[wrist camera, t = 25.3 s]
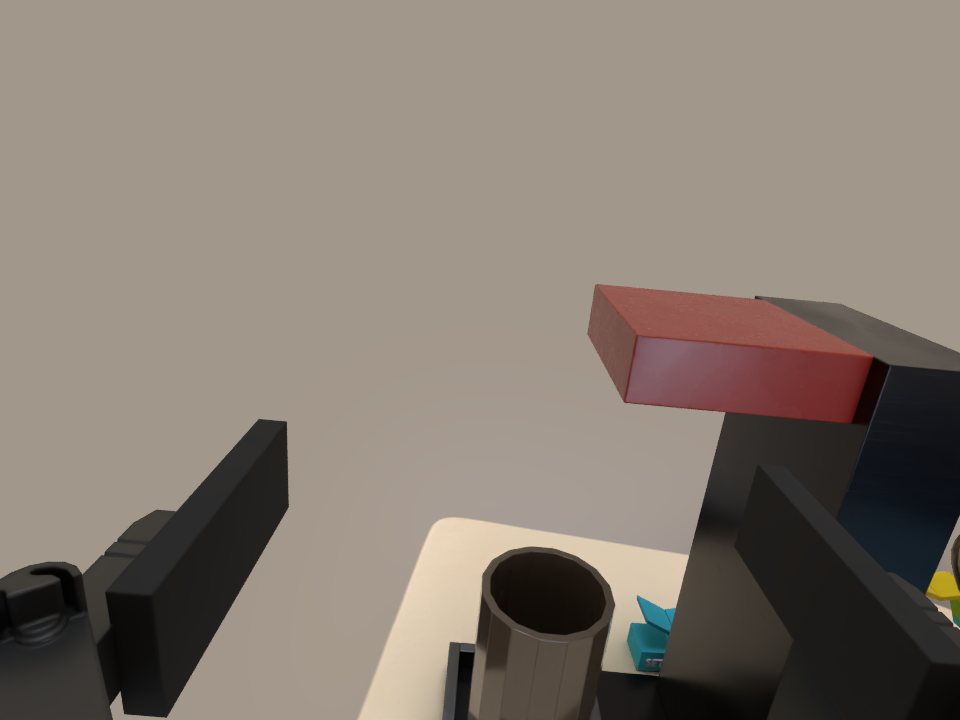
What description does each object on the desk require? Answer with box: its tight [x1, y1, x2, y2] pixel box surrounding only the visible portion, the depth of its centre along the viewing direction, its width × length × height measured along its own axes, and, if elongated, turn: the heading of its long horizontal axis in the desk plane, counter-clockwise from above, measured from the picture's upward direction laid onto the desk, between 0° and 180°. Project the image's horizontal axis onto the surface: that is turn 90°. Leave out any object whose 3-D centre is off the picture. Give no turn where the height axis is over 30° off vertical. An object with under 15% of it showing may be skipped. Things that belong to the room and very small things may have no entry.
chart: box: [627, 571, 960, 671], centre depth 45 cm, size 30×3×15 cm, turn 92°
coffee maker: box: [442, 284, 960, 720], centre depth 32 cm, size 21×14×31 cm, turn 88°
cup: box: [466, 546, 615, 720], centre depth 35 cm, size 8×8×13 cm
